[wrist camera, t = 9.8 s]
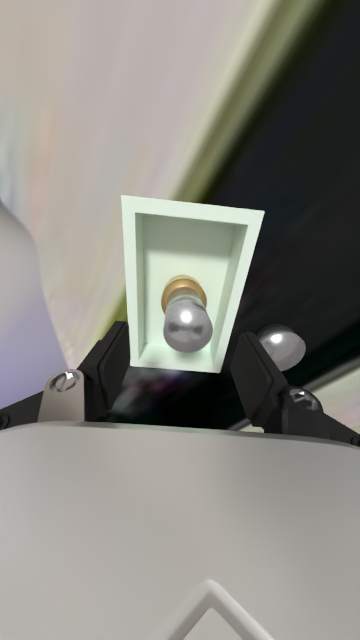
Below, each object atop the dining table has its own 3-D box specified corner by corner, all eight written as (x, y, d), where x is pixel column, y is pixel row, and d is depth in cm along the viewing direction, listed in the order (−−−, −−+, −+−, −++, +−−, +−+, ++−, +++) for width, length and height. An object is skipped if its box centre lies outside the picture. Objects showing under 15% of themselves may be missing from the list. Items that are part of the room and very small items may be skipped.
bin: (214, 352, 25) (219, 372, 21) (138, 346, 24) (130, 365, 21) (247, 215, 17) (264, 211, 13) (134, 202, 16) (120, 194, 13)
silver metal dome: (283, 360, 25) (293, 373, 23) (244, 357, 25) (250, 370, 23) (301, 325, 22) (314, 336, 20) (256, 321, 22) (264, 332, 20)
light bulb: (205, 276, 19) (228, 302, 11) (199, 314, 21) (215, 361, 13) (164, 272, 19) (155, 296, 11) (161, 311, 21) (153, 357, 12)
